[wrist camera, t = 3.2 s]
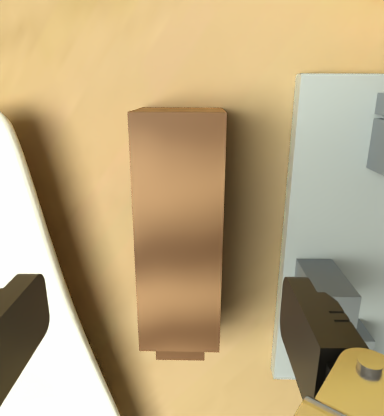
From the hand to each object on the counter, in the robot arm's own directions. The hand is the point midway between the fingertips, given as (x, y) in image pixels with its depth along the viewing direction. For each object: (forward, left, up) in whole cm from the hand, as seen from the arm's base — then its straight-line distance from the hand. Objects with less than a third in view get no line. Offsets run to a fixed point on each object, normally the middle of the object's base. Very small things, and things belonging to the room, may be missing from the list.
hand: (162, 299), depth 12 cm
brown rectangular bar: (+2, 0, -13) cm, 13 cm away
